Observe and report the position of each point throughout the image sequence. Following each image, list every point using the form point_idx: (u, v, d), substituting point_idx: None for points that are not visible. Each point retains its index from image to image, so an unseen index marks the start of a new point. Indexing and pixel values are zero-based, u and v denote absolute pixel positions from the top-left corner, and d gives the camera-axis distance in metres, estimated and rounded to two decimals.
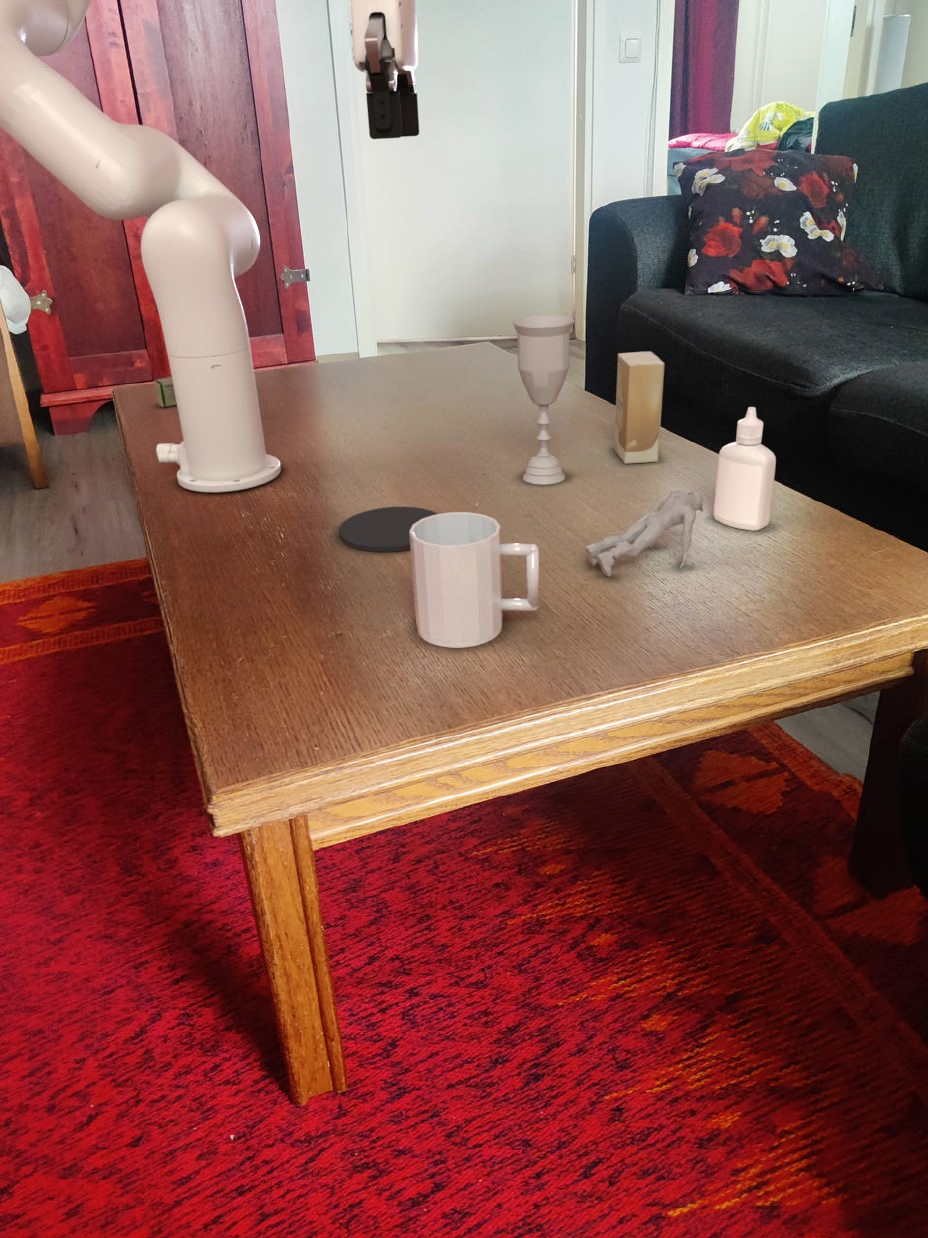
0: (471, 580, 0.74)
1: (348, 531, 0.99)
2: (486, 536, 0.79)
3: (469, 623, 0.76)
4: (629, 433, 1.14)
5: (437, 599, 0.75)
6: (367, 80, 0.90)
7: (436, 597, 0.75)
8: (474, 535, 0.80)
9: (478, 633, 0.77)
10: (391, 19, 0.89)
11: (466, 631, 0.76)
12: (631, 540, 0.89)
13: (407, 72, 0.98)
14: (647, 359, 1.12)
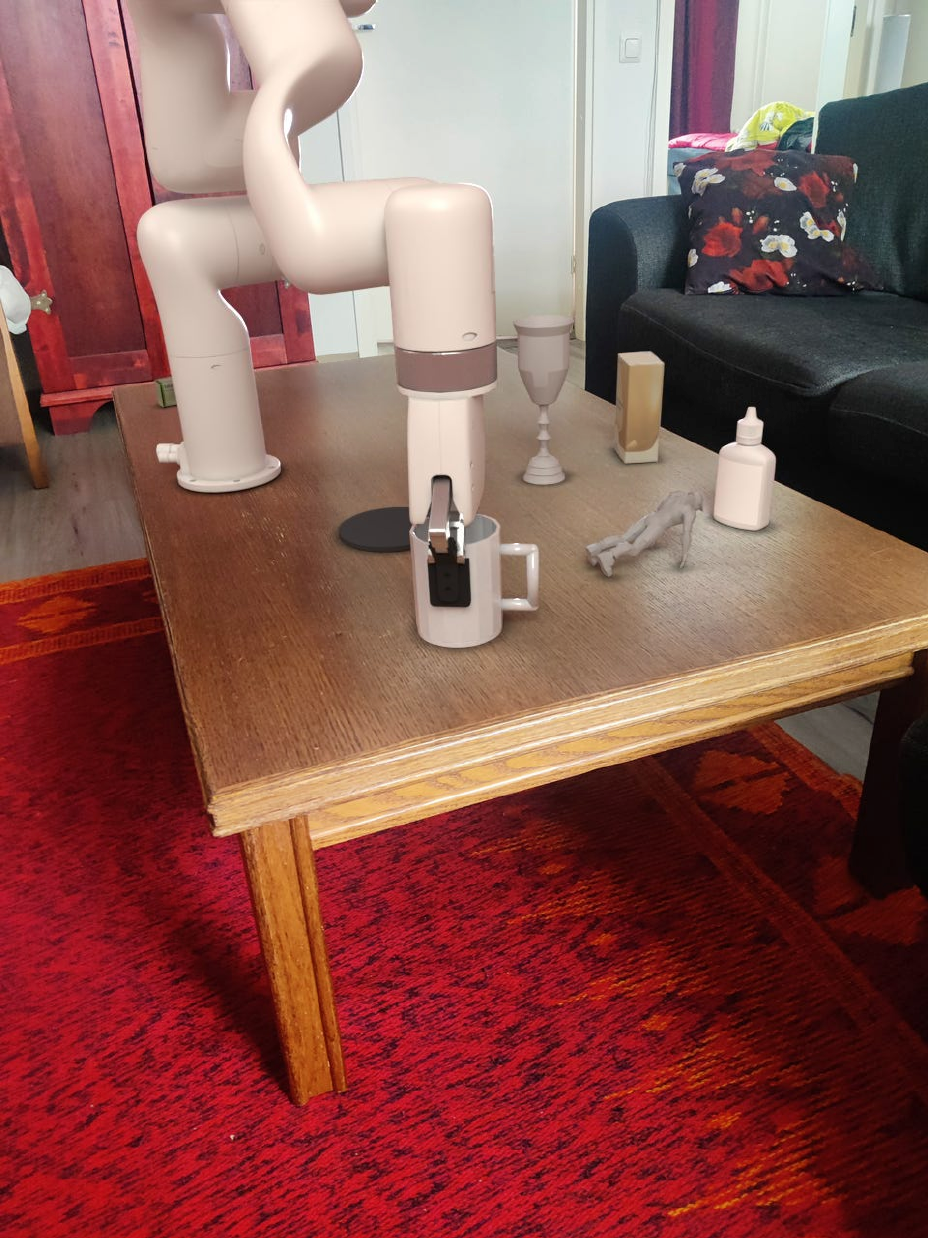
0: (471, 580, 0.74)
1: (348, 531, 0.99)
2: (486, 536, 0.79)
3: (469, 623, 0.76)
4: (629, 433, 1.14)
5: None
6: (429, 554, 0.72)
7: None
8: (474, 535, 0.80)
9: (478, 634, 0.77)
10: (460, 483, 0.69)
11: (466, 631, 0.76)
12: (631, 540, 0.89)
13: None
14: (647, 359, 1.12)
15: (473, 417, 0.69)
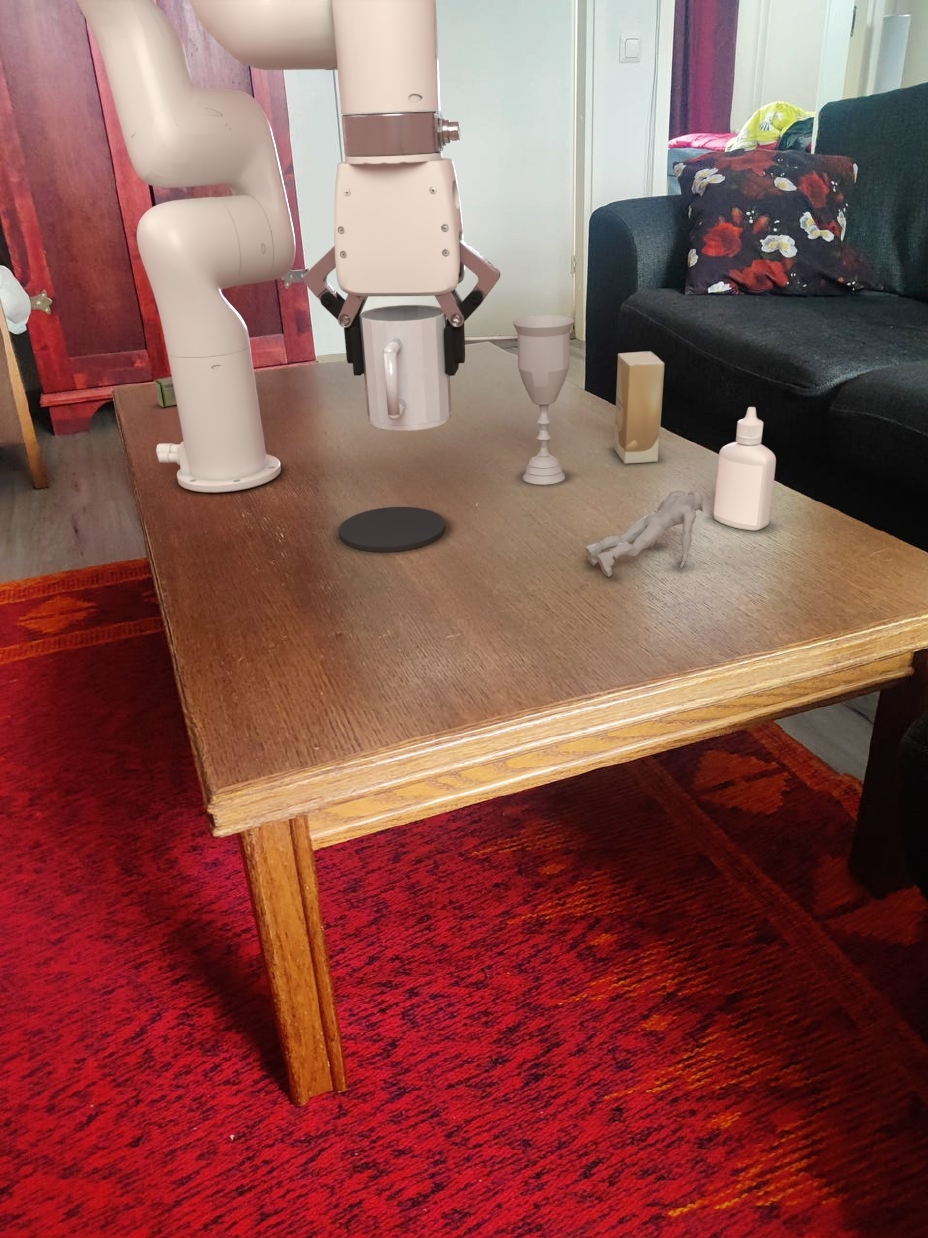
0: (364, 354, 0.79)
1: (348, 531, 0.99)
2: None
3: (367, 397, 0.81)
4: (629, 433, 1.14)
5: None
6: None
7: None
8: None
9: (369, 412, 0.81)
10: None
11: (367, 405, 0.82)
12: (631, 540, 0.89)
13: None
14: (647, 359, 1.12)
15: (351, 186, 0.73)
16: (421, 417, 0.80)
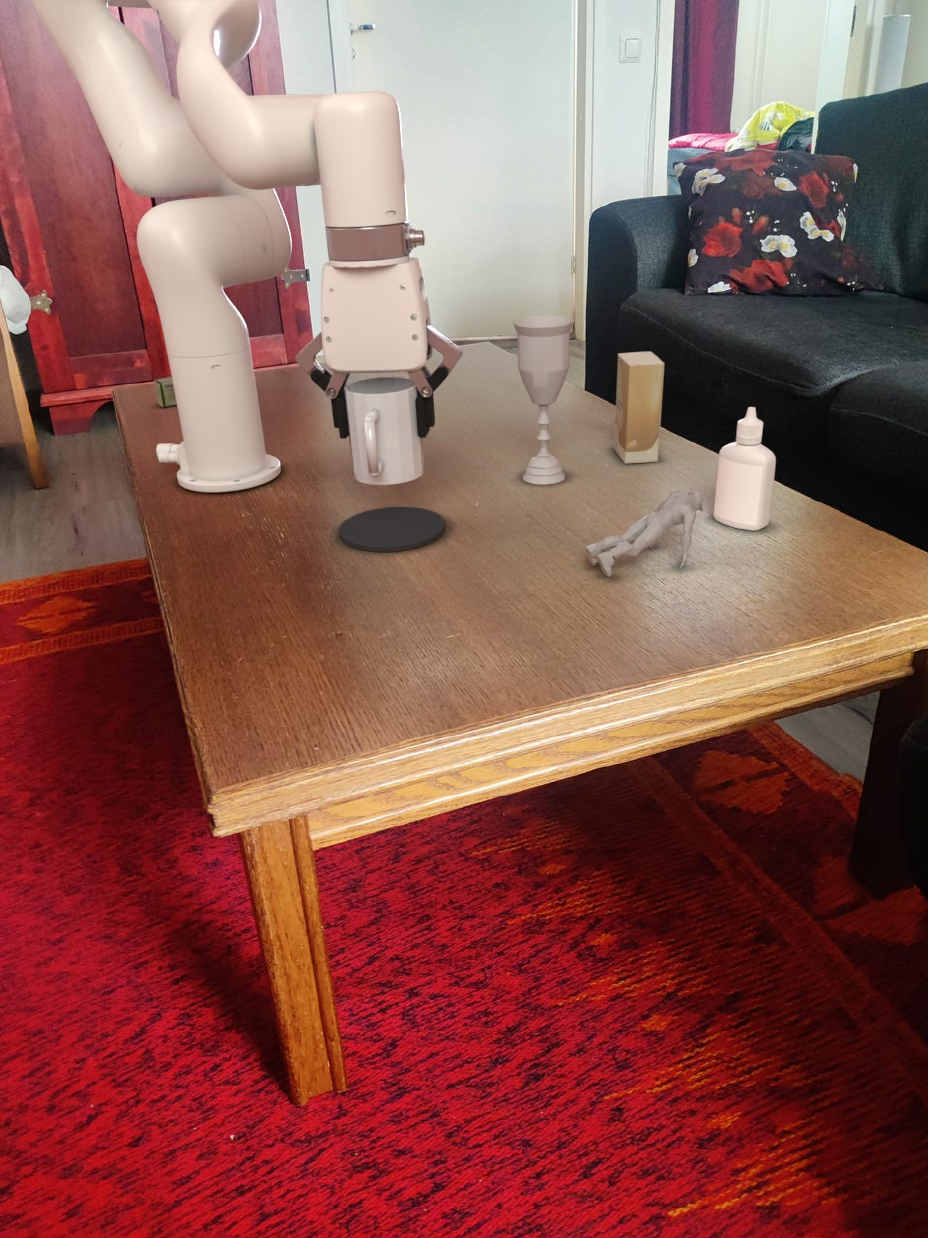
0: (348, 420, 0.93)
1: (348, 531, 0.99)
2: None
3: (351, 456, 0.95)
4: (629, 433, 1.14)
5: None
6: None
7: None
8: None
9: (354, 469, 0.95)
10: (321, 331, 0.90)
11: (352, 462, 0.96)
12: (631, 540, 0.89)
13: None
14: (647, 359, 1.12)
15: (334, 284, 0.87)
16: (398, 473, 0.93)
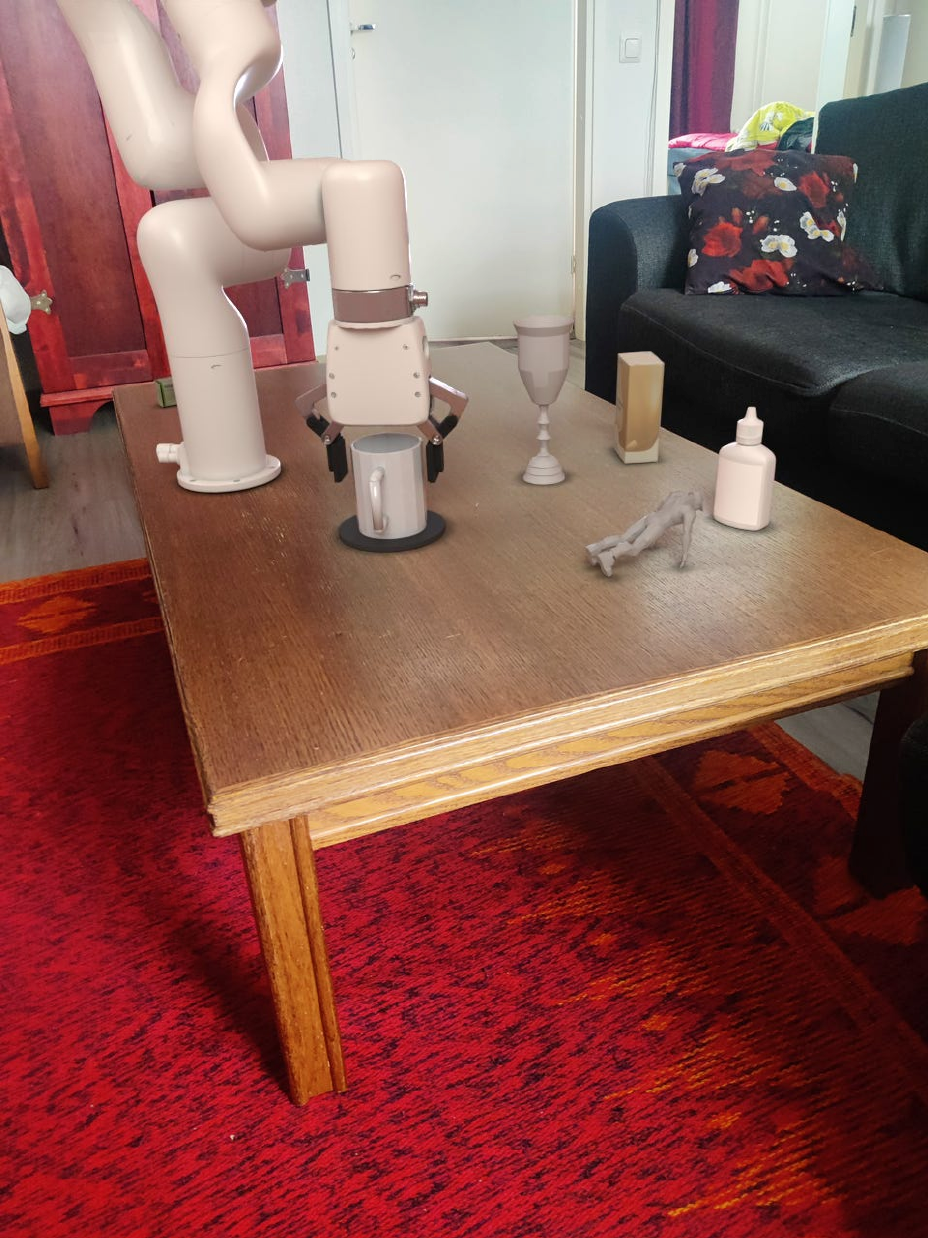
0: (353, 477, 0.96)
1: (348, 531, 0.99)
2: None
3: (356, 510, 0.98)
4: (629, 433, 1.14)
5: None
6: None
7: None
8: None
9: (359, 523, 0.98)
10: None
11: (357, 516, 0.98)
12: (631, 540, 0.89)
13: None
14: (647, 359, 1.12)
15: (340, 343, 0.89)
16: (402, 528, 0.96)
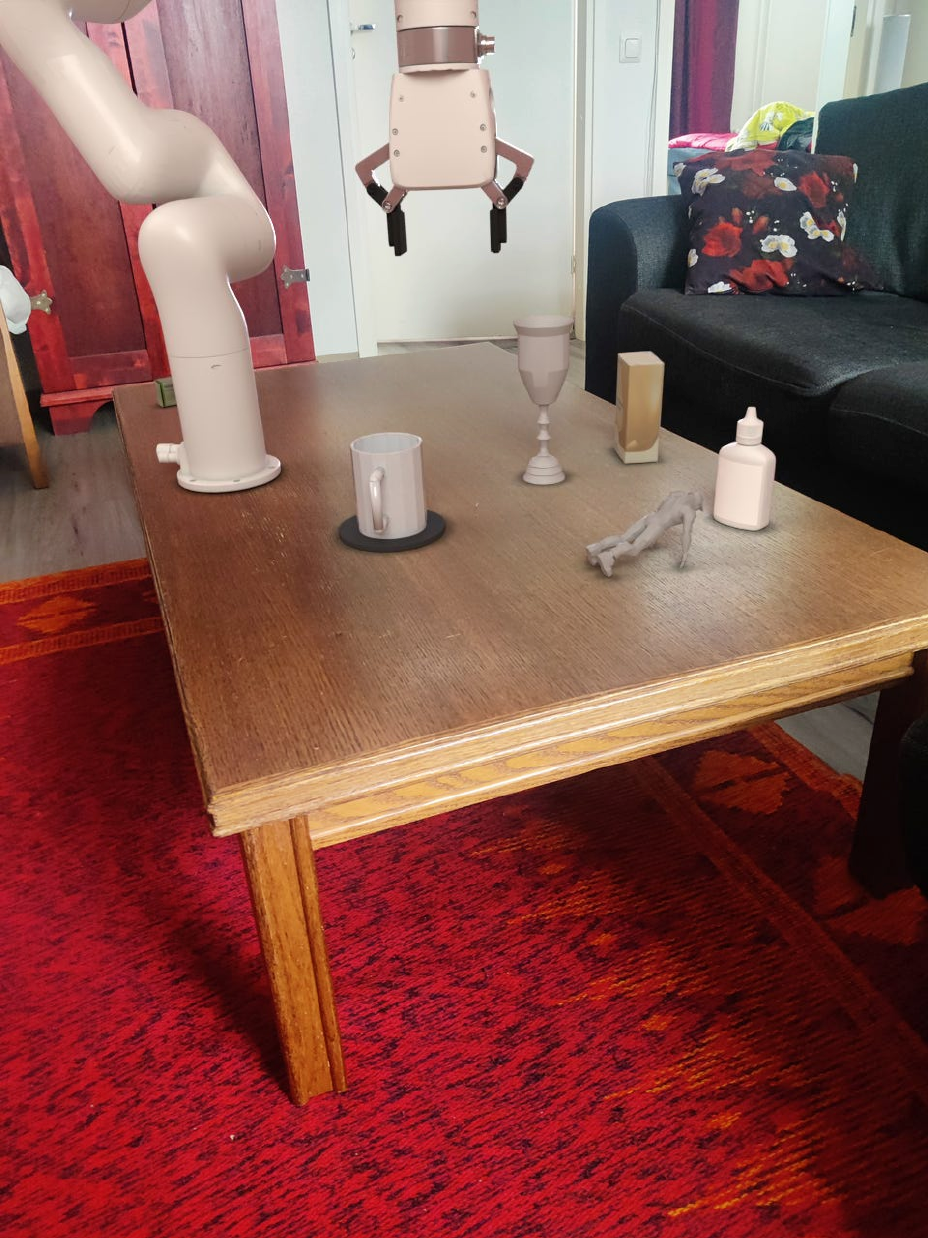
0: (353, 477, 0.96)
1: (348, 531, 0.99)
2: None
3: (356, 510, 0.98)
4: (629, 433, 1.14)
5: None
6: None
7: None
8: None
9: (359, 523, 0.98)
10: (389, 145, 0.90)
11: (357, 516, 0.98)
12: (631, 540, 0.89)
13: (481, 187, 0.91)
14: (647, 359, 1.12)
15: (404, 92, 0.87)
16: (402, 528, 0.96)
